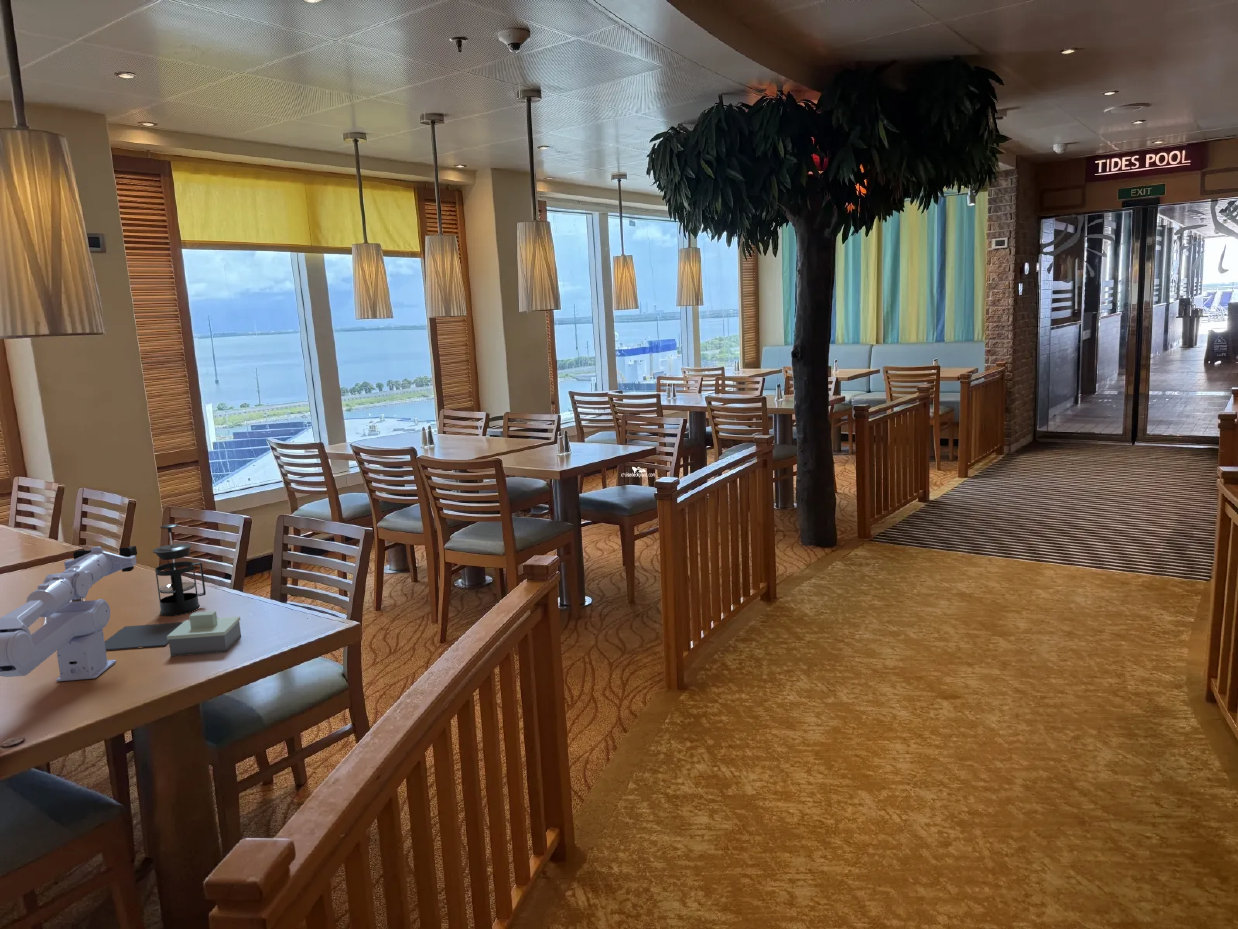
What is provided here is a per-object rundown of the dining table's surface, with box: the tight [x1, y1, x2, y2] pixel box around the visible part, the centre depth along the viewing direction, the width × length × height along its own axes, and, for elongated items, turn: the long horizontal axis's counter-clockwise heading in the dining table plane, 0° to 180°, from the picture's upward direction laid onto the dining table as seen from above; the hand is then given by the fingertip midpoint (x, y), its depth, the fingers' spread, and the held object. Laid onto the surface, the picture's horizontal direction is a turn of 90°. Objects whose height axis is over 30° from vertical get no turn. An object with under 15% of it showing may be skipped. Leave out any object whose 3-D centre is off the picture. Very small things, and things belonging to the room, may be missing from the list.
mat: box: [104, 621, 184, 651], centre depth 205 cm, size 16×16×1 cm
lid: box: [167, 610, 241, 640], centre depth 196 cm, size 10×12×5 cm
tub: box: [168, 621, 242, 657], centre depth 196 cm, size 10×12×4 cm
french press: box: [152, 523, 207, 617], centre depth 223 cm, size 12×9×23 cm
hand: (118, 551), depth 200 cm, fingers open, 7 cm apart
